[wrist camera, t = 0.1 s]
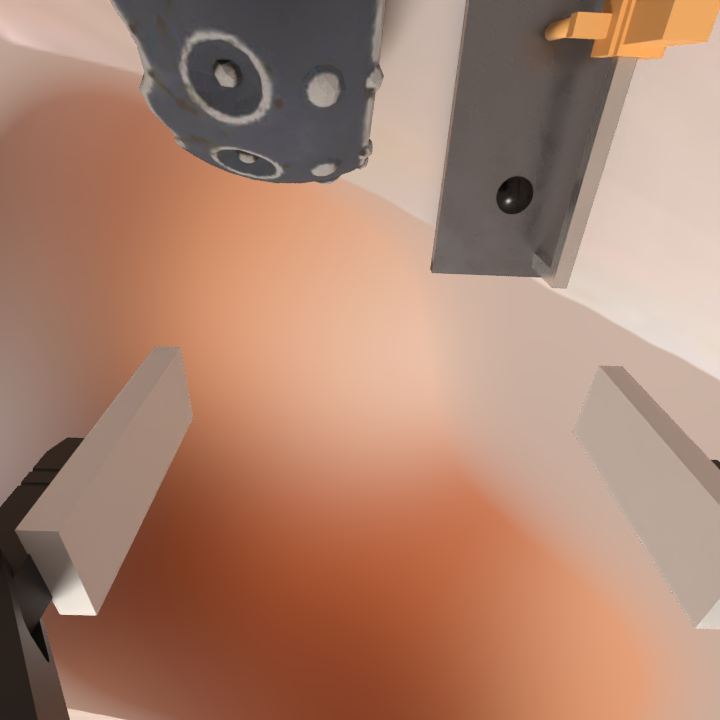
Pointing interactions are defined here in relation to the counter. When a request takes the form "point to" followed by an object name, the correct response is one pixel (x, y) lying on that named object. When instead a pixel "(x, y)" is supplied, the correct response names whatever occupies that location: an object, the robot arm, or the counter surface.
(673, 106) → the counter surface
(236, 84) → the studded round pot
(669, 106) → the counter surface
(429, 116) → the counter surface
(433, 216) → the counter surface
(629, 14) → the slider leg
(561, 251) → the grey slide rail
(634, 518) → the robot arm
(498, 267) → the bolt plate
